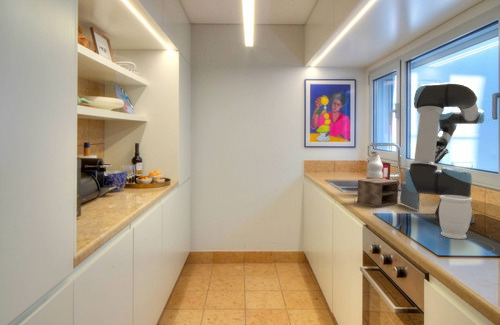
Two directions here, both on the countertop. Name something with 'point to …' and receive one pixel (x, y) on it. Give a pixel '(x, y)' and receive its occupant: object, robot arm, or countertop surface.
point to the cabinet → (377, 192)
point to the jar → (455, 215)
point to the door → (409, 197)
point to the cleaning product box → (385, 170)
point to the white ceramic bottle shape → (375, 166)
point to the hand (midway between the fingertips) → (425, 171)
